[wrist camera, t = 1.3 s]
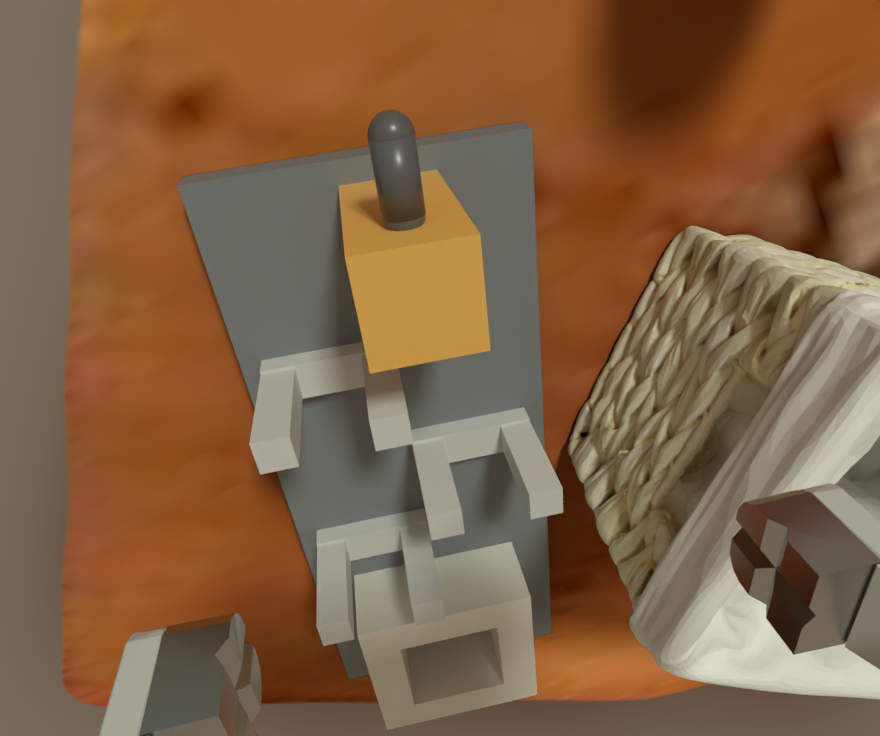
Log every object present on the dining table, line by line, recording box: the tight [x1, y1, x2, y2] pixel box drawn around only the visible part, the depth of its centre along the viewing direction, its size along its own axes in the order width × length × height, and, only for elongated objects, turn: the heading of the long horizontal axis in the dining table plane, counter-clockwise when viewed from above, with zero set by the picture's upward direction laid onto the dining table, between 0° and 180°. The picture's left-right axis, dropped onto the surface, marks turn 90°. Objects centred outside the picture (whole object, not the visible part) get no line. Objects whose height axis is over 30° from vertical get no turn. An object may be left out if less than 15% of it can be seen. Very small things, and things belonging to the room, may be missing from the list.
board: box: [177, 121, 563, 730], centre depth 31 cm, size 14×33×8 cm, turn 7°
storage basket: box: [567, 226, 880, 699], centre depth 29 cm, size 24×16×15 cm
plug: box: [338, 110, 491, 374], centre depth 21 cm, size 4×7×8 cm, turn 7°
